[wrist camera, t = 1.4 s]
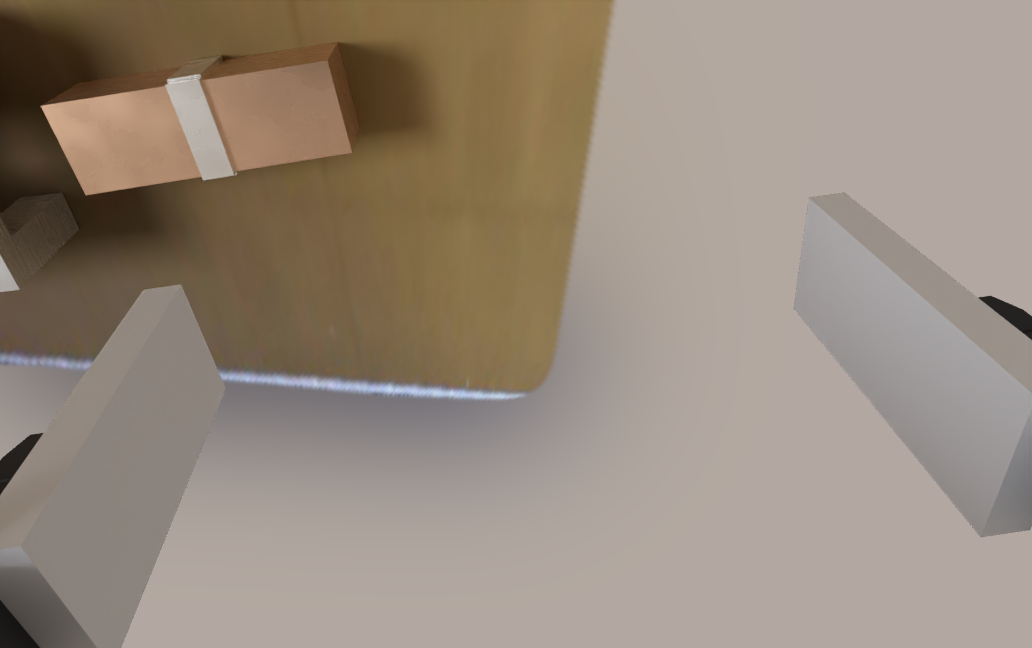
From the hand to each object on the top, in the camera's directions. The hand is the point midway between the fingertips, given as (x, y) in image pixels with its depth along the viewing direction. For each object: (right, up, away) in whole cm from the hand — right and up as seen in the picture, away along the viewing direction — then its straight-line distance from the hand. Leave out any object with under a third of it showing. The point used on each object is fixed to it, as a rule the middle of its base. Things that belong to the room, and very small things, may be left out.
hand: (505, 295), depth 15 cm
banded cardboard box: (-14, +10, +19) cm, 25 cm away
